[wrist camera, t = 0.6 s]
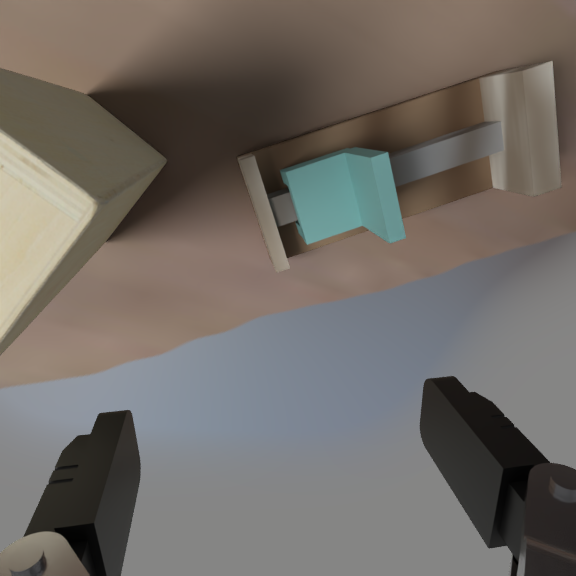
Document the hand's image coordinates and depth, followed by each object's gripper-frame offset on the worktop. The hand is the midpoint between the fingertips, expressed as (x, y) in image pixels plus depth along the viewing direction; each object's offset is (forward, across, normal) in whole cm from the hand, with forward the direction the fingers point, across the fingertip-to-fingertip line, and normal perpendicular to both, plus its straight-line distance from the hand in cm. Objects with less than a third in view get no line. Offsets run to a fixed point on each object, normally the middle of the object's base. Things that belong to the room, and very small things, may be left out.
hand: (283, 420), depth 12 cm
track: (+24, -11, -4) cm, 26 cm away
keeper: (+22, -6, -2) cm, 23 cm away
